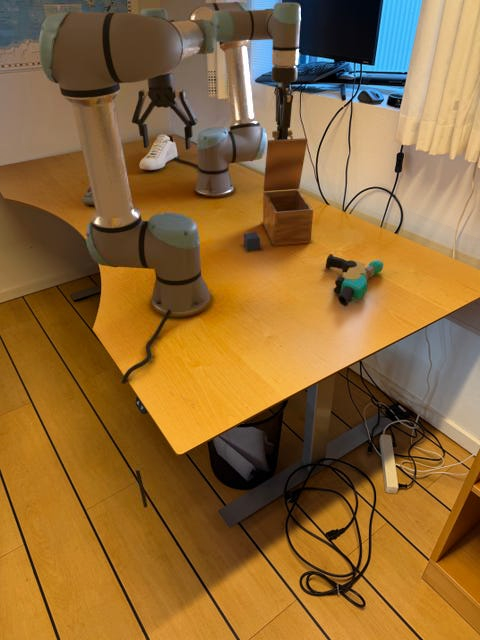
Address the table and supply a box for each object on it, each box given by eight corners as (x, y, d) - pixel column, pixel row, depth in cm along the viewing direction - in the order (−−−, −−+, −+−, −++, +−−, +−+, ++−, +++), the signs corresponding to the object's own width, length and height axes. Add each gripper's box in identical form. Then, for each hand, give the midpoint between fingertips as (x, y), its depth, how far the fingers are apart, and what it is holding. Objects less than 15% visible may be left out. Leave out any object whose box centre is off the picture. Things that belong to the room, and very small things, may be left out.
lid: (307, 139, 145) (301, 124, 149) (268, 142, 143) (263, 126, 148) (299, 188, 159) (293, 173, 164) (263, 191, 158) (259, 175, 163)
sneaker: (133, 173, 208) (129, 144, 201) (161, 153, 230) (158, 127, 223) (155, 175, 205) (151, 146, 198) (180, 155, 227) (178, 129, 220)
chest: (310, 242, 153) (313, 209, 146) (273, 245, 151) (274, 212, 145) (296, 220, 167) (298, 189, 160) (262, 222, 165) (263, 192, 159)
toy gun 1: (139, 195, 187) (124, 210, 175) (95, 192, 190) (77, 207, 178) (137, 185, 184) (122, 200, 173) (93, 182, 188) (75, 197, 176)
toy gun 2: (303, 285, 123) (360, 300, 117) (335, 245, 141) (386, 256, 135) (302, 300, 125) (358, 315, 119) (334, 258, 144) (383, 270, 138)
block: (260, 249, 149) (260, 237, 147) (247, 251, 148) (247, 239, 146) (256, 243, 152) (256, 231, 150) (243, 245, 152) (243, 233, 149)
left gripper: (204, 70, 138) (208, 145, 151) (123, 69, 142) (133, 142, 154) (198, 75, 132) (203, 152, 145) (113, 73, 136) (125, 149, 148)
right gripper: (304, 69, 133) (299, 154, 147) (291, 61, 145) (287, 141, 159) (278, 70, 132) (275, 156, 146) (267, 62, 144) (265, 142, 158)
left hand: (167, 147), depth 149 cm, fingers open, 13 cm apart
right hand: (281, 148), depth 153 cm, fingers closed on lid, 2 cm apart
